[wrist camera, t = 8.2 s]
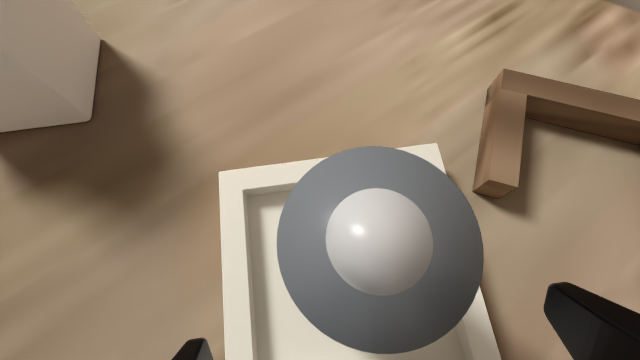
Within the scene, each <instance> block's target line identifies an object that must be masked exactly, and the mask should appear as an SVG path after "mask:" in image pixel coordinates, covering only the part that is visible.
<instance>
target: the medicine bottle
mask: <svg viewBox="0 0 640 360" xmlns="http://www.w3.org/2000/svg"><path fill="white" fill-rule="evenodd" d="M100 40H101V39H100V36H99V34H98V33H97V32H96V31H95V29H94V28H93V27H92V26H91V25H90V24H89V22H88V21H87V20H86V19H85V18H84V16H83V15H82V14H81V13H80V12H79V10H78V9H77V8H76V7H75V6H74V4H73V3H72V2H71V1H70V0H0V132H7V131H15V130H23V129H31V128H39V127H47V126H55V125H63V124H71V123H79V122H86V121H89V120H90V119H91V117H92V108H93V100H94V91H95V83H96V74H97V66H98V57H99V49H100Z"/></svg>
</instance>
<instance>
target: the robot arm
mask: <svg viewBox="0 0 640 360" xmlns="http://www.w3.org/2000/svg"><path fill="white" fill-rule="evenodd" d="M544 312H545V315H546V317H547V319H548V320H549V322H550V323H551V325H552V326H553V328H554V330H555V331H556V333H557V334H558V336H559V337H560V339H561V340H562V342H563V344H564V345H565V347H566V348H567V350H568V351H569V353H570V355H571V356H572V358H573V359H574V360H640V314H639V313H637V312H634V311H632V310H630V309H628V308H625V307H623V306H621V305H619V304H616V303H614V302H612V301H610V300H607V299H605V298H603V297H600V296H598V295H596V294H594V293H591V292H589V291H587V290H585V289H582V288H580V287H578V286H576V285H573V284H571V283H568V282H560V283H553V284H550V285H549V287H548V290H547V294H546V298H545V303H544ZM172 360H213V357H212V354H211V351H210V348H209V345H208V343H207V340H206V339H205V338H197V339H190V340H188V341H187V342H186V343H185V344H184V345H183V347H182V348H181V349H180V350H179V351H178V353H177V354H176V355H175V356H174V357H173V359H172Z"/></svg>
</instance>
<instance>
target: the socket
mask: <svg viewBox="0 0 640 360" xmlns="http://www.w3.org/2000/svg"><path fill="white" fill-rule="evenodd" d="M525 117H526V118H531V119H535V120H539V121H543V122H547V123H551V124H555V125H559V126H563V127H567V128H571V129H576V130H580V131H584V132H588V133H592V134H596V135H600V136H604V137H608V138H612V139H616V140H621V141H625V142H629V143H633V144H637V145H640V100H638V99H634V98H629V97H625V96H620V95H616V94H612V93H607V92H603V91H599V90H594V89H590V88H586V87H581V86H577V85H573V84H568V83H564V82H560V81H555V80H551V79H547V78H542V77H538V76H534V75H529V74H525V73H521V72H516V71H512V70H508V69H503V70H502V71H501V73H500V74H499V75H498V76H497V78H496V79H495V80H494V81H493V83H492V84H491V85H490V87H489V88H488V90H487V97H486V104H485V111H484V118H483V124H482V131H481V138H480V145H479V151H478V158H477V165H476V172H475V179H474V185H473V192H477V193H480V194H484V195H488V196H491V197H495V198H500V197H502V196H504V195H505V194H507V193H509V192H511V191H512V190H514V189H516V188H518V183H519V173H520V162H521V152H522V142H523V131H524V121H525Z"/></svg>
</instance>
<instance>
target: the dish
mask: <svg viewBox="0 0 640 360" xmlns="http://www.w3.org/2000/svg"><path fill="white" fill-rule="evenodd" d="M395 149H399V150H403V151H406V152H409V153H411V154H414V155H417V156H419V157H421V158H423V159H425V160H427V161H428V162H430V163H431V164H433V165H434V166H436V167H437V168H439V169H440V170H441V171H442V172H444V173H445V174H446V172H445V169H444V166H443V162H442V159H441V156H440V152H439V149H438V146H437V143H433V144H425V145H418V146H410V147H403V148H395ZM327 158H328V157H327ZM324 159H326V158H319V159H312V160H304V161H296V162H289V163H281V164H274V165H266V166H258V167H251V168H243V169H236V170H228V171H221V172H219V194H220V223H221V251H222V279H223V308H224V336H225V360H501V356H500V353H499V350H498V346H497V343H496V340H495V336H494V333H493V330H492V326H491V323H490V319H489V316H488V313H487V309H486V306H485V303H484V299H483V296H482V293H481V289H480V286H479V289H478V291H477V293H476V296H475V298H474V301H473V303H472V304H471V306H470V308H469V309H468V311H467V313H466V314H465V315H464V317H463V318H462V319H461V320H460V322H459V323H458V324H457V325H456V326H455V327H454V328H453V329H452V330H450V331H449V332H448V333H447V334H446V335H444V336H443V337H441V338H440V339H438V340H437V341H435V342H433V343H431V344H429V345H427V346H425V347H423V348H420V349H416V350H413V351H410V352H405V353H397V354H375V353H369V352H362V351H359V350H356V349H353V348H350V347H347V346H345V345H343V344H341V343H338V342H336V341H334V340H333V339H331V338H330V337H328V336H327V335H325V334H323V333H322V332H321V331H319V330H318V329H317V328H316V327H315V326H314V325H313V324H311V323H310V322H309V321H308V320H307V318H306V317H305V316H304V315H303V314H302V313H301V312H300V310H299V309H298V307H297V306H296V305H295V303H294V302H293V300H292V299H291V297H290V295H289V293H288V291H287V289H286V287H285V284H284V281H283V278H282V275H281V273H280V268H279V263H278V258H277V245H276V244H277V230H278V225H279V219H280V216H281V213H282V210H283V207H284V204H285V202H286V200H287V198H288V196H289V194H290V193H291V191H292V190H293V188H294V187H295V185H296V184H297V183H298V181H299V180H300V179H301V178H302V177H303V176H304V175H305V174H306V173H307V172H308V171H309V170H310V169H311V168H312V167H314V166H315V165H316V164H318V163H319V162H321V161H322V160H324Z"/></svg>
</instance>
